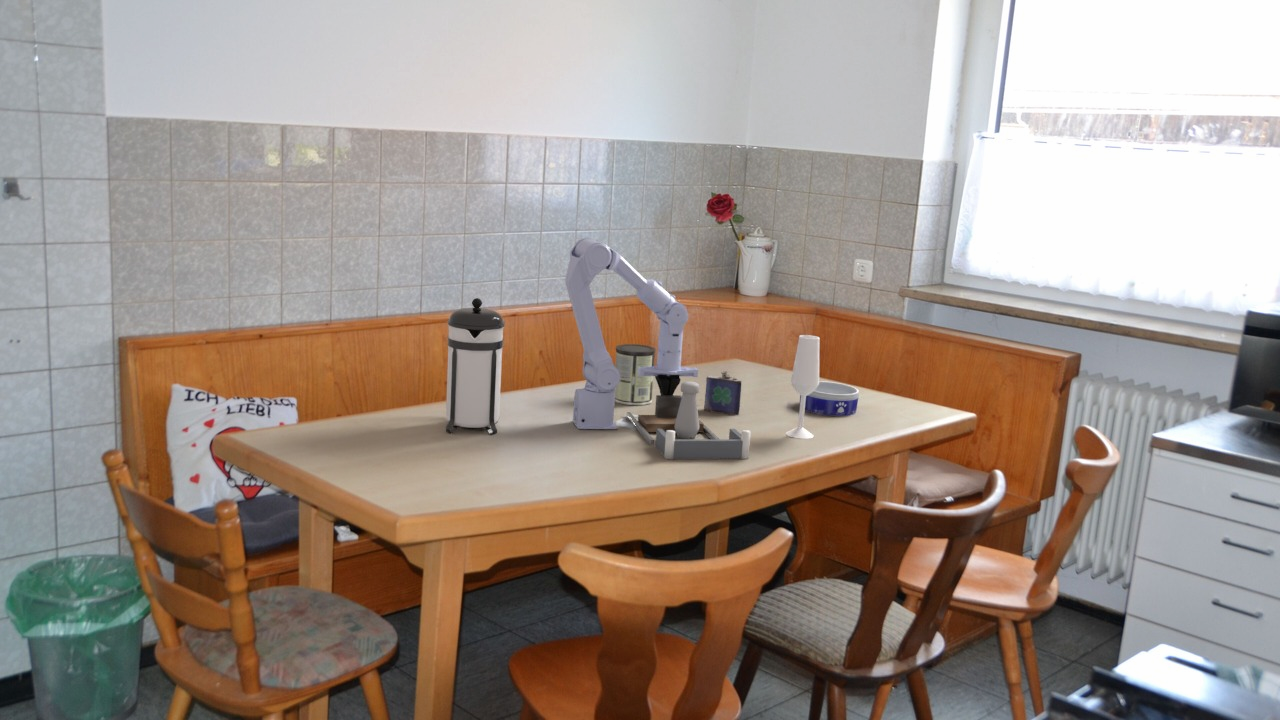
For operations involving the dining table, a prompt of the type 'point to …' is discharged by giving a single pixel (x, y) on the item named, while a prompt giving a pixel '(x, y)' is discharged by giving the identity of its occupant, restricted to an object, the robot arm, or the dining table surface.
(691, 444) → the frame
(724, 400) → the flask
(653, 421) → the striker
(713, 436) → the rails
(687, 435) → the salt shaker
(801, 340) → the champagne flute
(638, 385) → the coffee can
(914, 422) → the dining table surface
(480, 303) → the coffee press
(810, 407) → the dog bowl
